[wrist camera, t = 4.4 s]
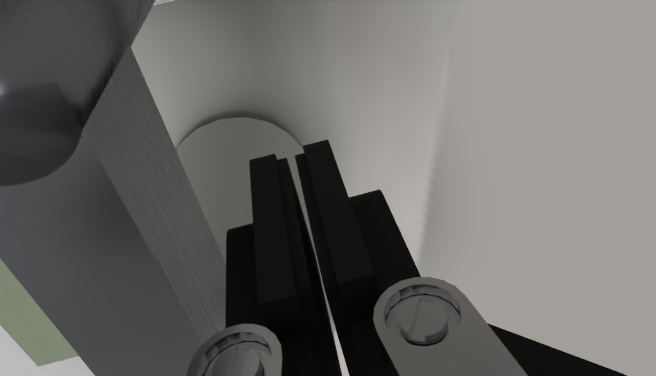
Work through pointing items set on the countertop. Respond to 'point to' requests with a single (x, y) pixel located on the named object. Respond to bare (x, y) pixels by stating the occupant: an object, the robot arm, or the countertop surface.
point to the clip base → (161, 1)
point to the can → (235, 171)
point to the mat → (30, 323)
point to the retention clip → (100, 192)
